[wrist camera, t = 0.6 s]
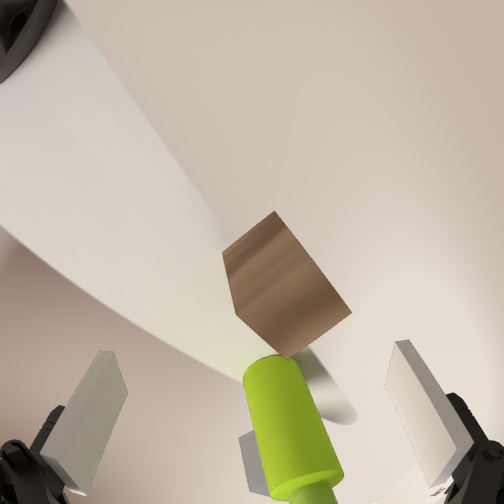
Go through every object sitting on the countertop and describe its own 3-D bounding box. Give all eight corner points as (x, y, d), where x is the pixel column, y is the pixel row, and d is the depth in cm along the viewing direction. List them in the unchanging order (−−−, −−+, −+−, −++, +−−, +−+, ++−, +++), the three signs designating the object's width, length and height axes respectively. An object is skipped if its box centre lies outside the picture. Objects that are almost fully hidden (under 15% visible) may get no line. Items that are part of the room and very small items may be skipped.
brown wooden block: (222, 252, 24) (235, 314, 17) (274, 210, 24) (311, 257, 16) (262, 294, 26) (287, 360, 19) (310, 257, 26) (353, 314, 19)
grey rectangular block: (238, 437, 35) (249, 491, 28) (270, 420, 34) (286, 475, 27) (262, 449, 37) (275, 498, 30) (293, 433, 37) (309, 483, 29)
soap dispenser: (309, 347, 30) (397, 532, 12) (290, 393, 33) (351, 557, 15) (251, 346, 29) (314, 560, 11) (238, 394, 31) (280, 575, 13)
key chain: (446, 487, 91) (447, 488, 90) (433, 496, 92) (433, 497, 91) (442, 485, 85) (443, 487, 85) (428, 495, 86) (429, 496, 86)
